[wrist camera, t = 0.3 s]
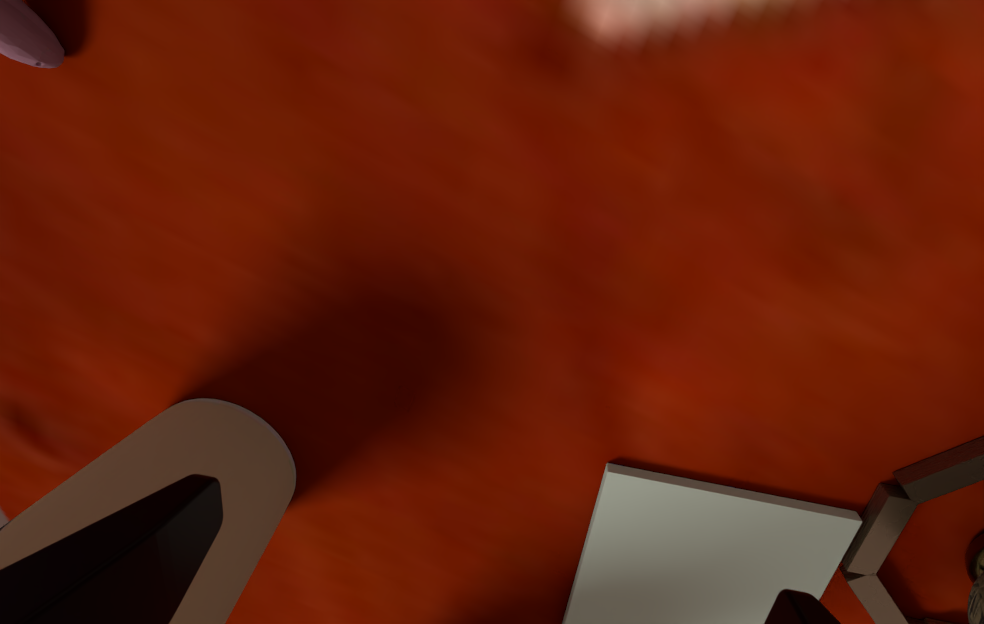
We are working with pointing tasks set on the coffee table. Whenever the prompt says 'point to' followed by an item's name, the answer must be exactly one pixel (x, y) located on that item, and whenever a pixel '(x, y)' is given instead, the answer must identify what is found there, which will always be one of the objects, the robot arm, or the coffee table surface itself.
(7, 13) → the video game controller
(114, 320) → the coffee table surface
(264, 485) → the coffee cup
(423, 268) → the coffee table surface
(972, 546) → the cup
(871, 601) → the ring
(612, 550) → the felt pad
